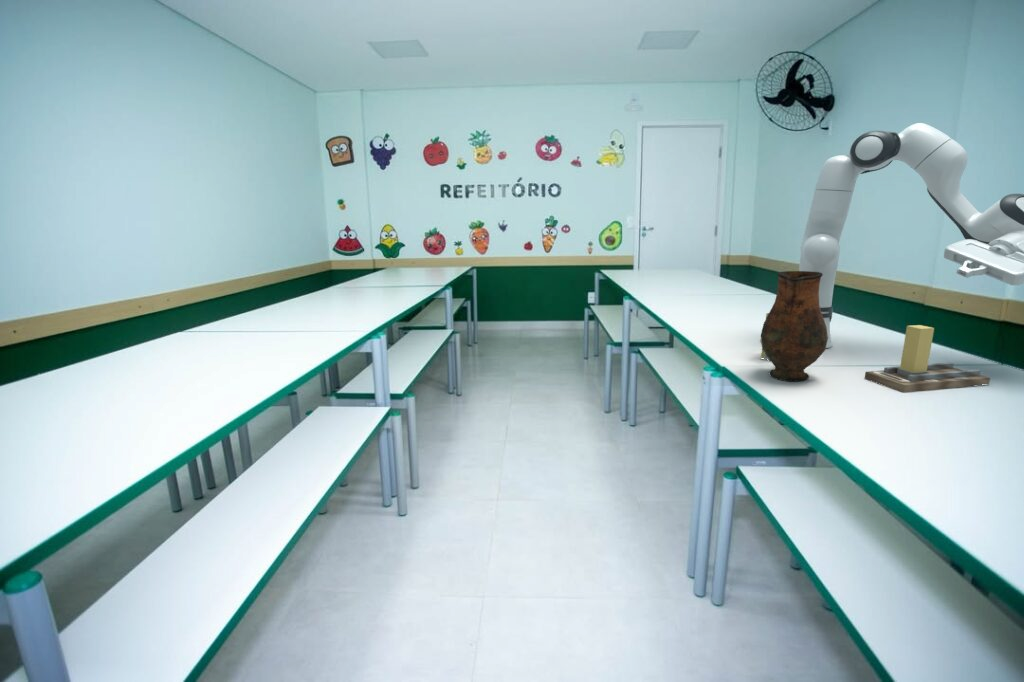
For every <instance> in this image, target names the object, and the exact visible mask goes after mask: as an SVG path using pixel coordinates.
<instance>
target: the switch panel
mask: <svg viewBox="0 0 1024 682" xmlns="http://www.w3.org/2000/svg"><path fill="white" fill-rule="evenodd" d="M954 365H955V364H954V362H948V361H947V362H935V363H934V362H933V363H928V366H927V371H928V372H929V373H926V374H914V375H908V377H905V376H902V375H899V374H897V370H898V368H900V365H898V366H887V367H886V366H885V367H884V369H881V370H871V371H870V370H869V371H865V373H864V379H865V378H866V380H867V379H869V380H868V381H870V380H872V381H871V382H873V381H874V383H876V382H877V383H876V384H879V383H880V384H879V385H881V384H882V386H884V385H885V386H884V387H887V388H890V389H893V390H896V391H898V392H901V393H911V392H914V393H915V392H922V391H923V392H924V391H935V390H946V389H957V388H956V387H959V388H966V387H965V386H971V387H975V386H974V385H982V384H989V385H990V381H991V377H989V376H985V375H981V372H982V370H979V369H965V370H964V369H961V368H957V367H954ZM982 386H983V385H982Z"/></svg>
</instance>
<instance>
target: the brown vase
mask: <svg viewBox="0 0 1024 682" xmlns="http://www.w3.org/2000/svg"><path fill="white" fill-rule="evenodd" d="M822 275H823V274H822V273H820V272H810V271H799V270H790V271H789V270H788V271H787V270H786V271H778V273H777V276H778V283H777V291H776V292H777V293H776V295H775V300H774V303H773V305H772V307H771V309H770V311H769V312H768V313H769V314H768V316H767V318H766V317H765V320H764V321H763V325H762V329H761V333H760V342H761V349H762V348H763V350H764V352H765V354H766V355H767V357H768V358H769V360H770V363H772V365H773V367H774V369H771V370H770V371H769V373H770V374H769V376H770V375H771V376H770V377H771V378H773V377H774V378H773V379H775V378H777V379H776V380H779V379H781V380H780V381H784V380H786V381H785V382H804V381H806V380H808V379H809V374H808V373H807V372H805V369H807V368H808V367H809V366H811V365H812V364H814V363H815V362H816V361H817V360H818V359H819V358H820V356H821V355H823V353H824V352H825V351H826V349H827V348H826V344H827V341H828V334H827V327H826V324H825V321H824V318H823V316H822V312H821V309H820V306H819V285H820V279H821V277H822Z"/></svg>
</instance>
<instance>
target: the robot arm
mask: <svg viewBox="0 0 1024 682" xmlns="http://www.w3.org/2000/svg"><path fill="white" fill-rule="evenodd" d="M849 149H850V150H849V153H847V154H845V155H844V154H843V155H841V154H839V155H835V156H834V155H833V156H832V157H830V158H827V160H826V161H825V162H824V163H823V166H822V168H821V170H820V172H819V175H818V177H817V179H816V184H815V188H814V192H813V196H812V201H811V204H810V208H809V213H808V217H807V222H806V225H805V230H804V234H803V236H802V237H803V238H802V242H801V246H800V256H799V257H800V259H799V267H798V268H799V269H798V271H810V272H820V273H822V274H823V275H822V277H821V279H820V285H819V306H820V309H821V312H822V316H823V318H824V321H825V324H826V327H827V334H828V341H827V344H826V348H825V349H828V348H832V346H833V344H832V338H831V322H832V318H833V311H834V309H833V308H834V306H832V302H833V295H834V287H835V281H836V276H837V270H838V265H839V258H840V252H841V245H840V240H841V237H842V235H843V234H842V233H843V230H844V227H845V223H846V221H847V219H848V218H847V217H848V214H849V211H850V207H851V206H850V205H851V202H852V198H853V194H854V192H855V191H854V190H855V186H856V183H857V180H858V177H859V176H860V175H863V174H867V173H870V172H871V173H872V172H876V171H880V170H883V169H884V168H886V167H888V166H889V165H890V164H891V163H892V162H893V161H900V162H903V163H905V164H906V165H908V167H910V168H911V169H912V170H914V171H915V172H916V173H917V174H918V175H919V176H920V177H921V179H922V181H924V183H925V186H926V190H927V193H928V196H930V198H931V199H932V200H933V202H934V203H935V204H936V205H937V206H938V207H939V208H940V209H941V210H942V211H943V213H944V214H945V215H946V216H947V217H948V218H949V219H950V220H951V221H952V222H953V223H954V225H956V226H957V228H958V229H959V230H960V232H961V234H962V236H963V238H964V239H961V240H959V241H957V242H954V243H950V244H948V245H947V246H945V248H944V251H943V258H944V259H946V260H948V261H951V262H953V263H956V264H958V265H959V266H960V267H958V268H957V270H956V274H957V275H960V276H962V277H964V278H967V279H968V278H970V277H973V276H974V277H975V276H983V275H985V276H988V277H990V278H993V279H995V280H998V281H1000V282H1003V283H1004V284H1007V285H1010V286H1021V285H1024V193H1011V194H1007V195H1005V196H1003V197H1002V198H1000V199H999V200H998V201H996V202H995V203H994V204H992V205H991V206H989V208H987V209H986V210H985V211H983V212H980V211H978V210H977V209H976V207H975V206H974V205H973V204H972V203H971V202H970V201H969V200H968V199H967V198H966V197H965V196H964V195H963V193H962V192H961V188H960V184H961V183H960V182H961V179H962V177H963V174H964V172H965V170H966V169H967V168H966V167H967V164H968V153H967V151H966V150H965V148H964V147H963V146H962V145H961V144H960V143H959V142H958V141H956V140H954V139H953V138H951V137H950V136H949V135H947V134H946V133H945V132H942V131H941V130H939V129H938V128H935V127H933V126H932V125H929V124H928V123H923V122H917V123H913V124H911V125H910V126H909V125H908V126H907V127H905V128H904V129H903V130H902V131H901V132H899V133H897V132H893V131H884V130H872V131H871V130H870V131H867V132H864V133H863V134H861V135H859V136H858V137H856V139H855V140H854V141H853V143H852V144H851V146H850V148H849Z"/></svg>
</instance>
